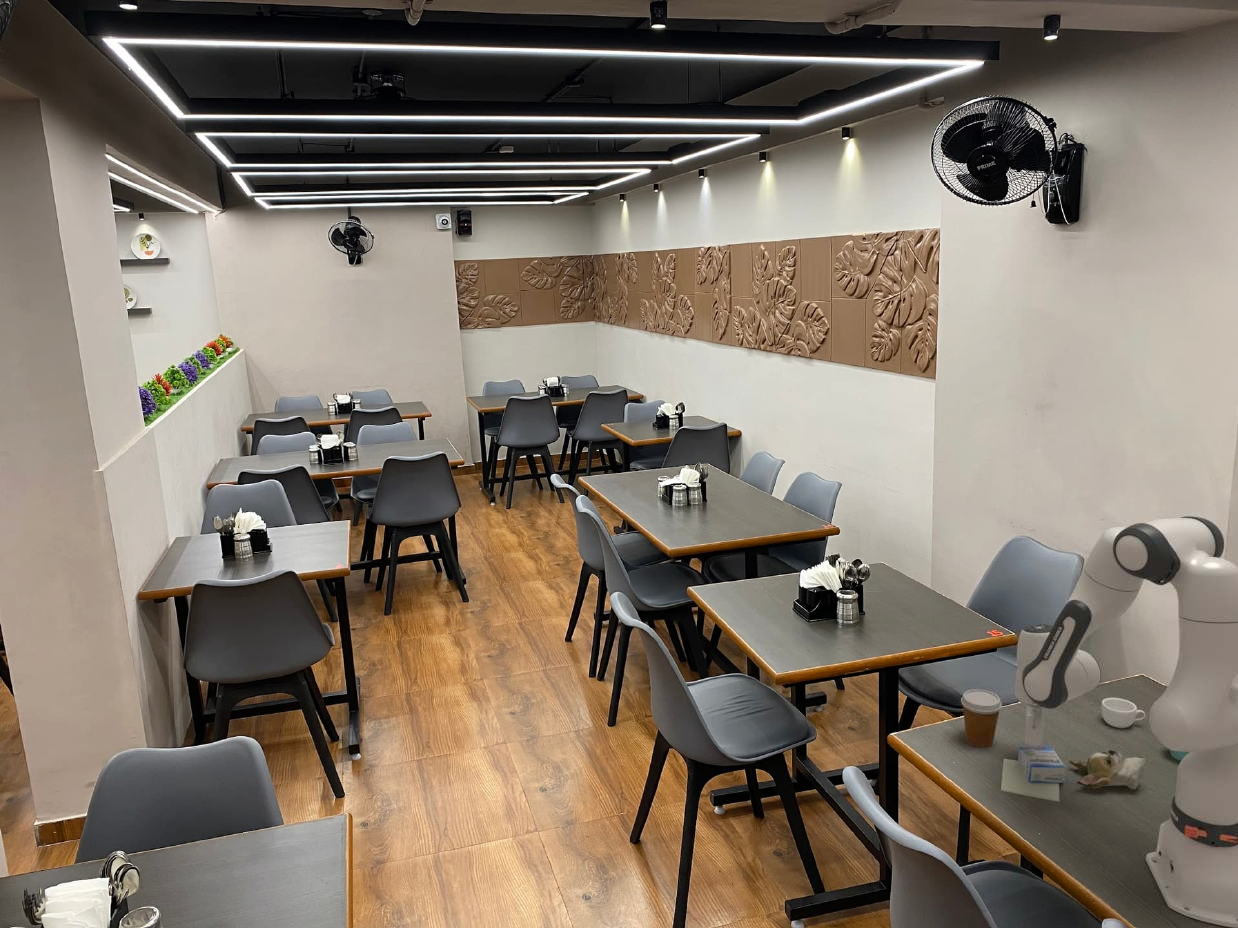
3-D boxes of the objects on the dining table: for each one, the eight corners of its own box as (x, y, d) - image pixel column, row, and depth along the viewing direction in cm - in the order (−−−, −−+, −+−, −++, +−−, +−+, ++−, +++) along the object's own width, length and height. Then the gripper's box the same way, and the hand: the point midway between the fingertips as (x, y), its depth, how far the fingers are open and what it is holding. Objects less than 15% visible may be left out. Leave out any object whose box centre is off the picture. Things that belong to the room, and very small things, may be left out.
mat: (1059, 801, 200) (1059, 800, 200) (1000, 790, 206) (1001, 789, 205) (1058, 769, 213) (1058, 767, 213) (1003, 759, 218) (1003, 758, 218)
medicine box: (1052, 746, 214) (1066, 766, 205) (1051, 763, 215) (1065, 783, 206) (1017, 746, 215) (1030, 766, 206) (1016, 763, 216) (1029, 783, 207)
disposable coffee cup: (983, 754, 220) (985, 710, 217) (951, 738, 228) (952, 695, 225) (1008, 743, 225) (1010, 699, 222) (976, 727, 233) (978, 684, 230)
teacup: (1102, 729, 229) (1104, 709, 228) (1098, 714, 236) (1099, 695, 235) (1147, 734, 226) (1149, 714, 224) (1141, 719, 233) (1143, 700, 231)
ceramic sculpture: (1152, 764, 198) (1076, 760, 202) (1151, 800, 199) (1077, 795, 204) (1139, 740, 208) (1068, 737, 212) (1138, 774, 209) (1068, 770, 214)
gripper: (1050, 713, 198) (1047, 769, 201) (1050, 674, 216) (1047, 726, 219) (1019, 709, 201) (1016, 764, 204) (1022, 670, 219) (1019, 721, 222)
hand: (1032, 744), depth 212 cm, fingers closed
